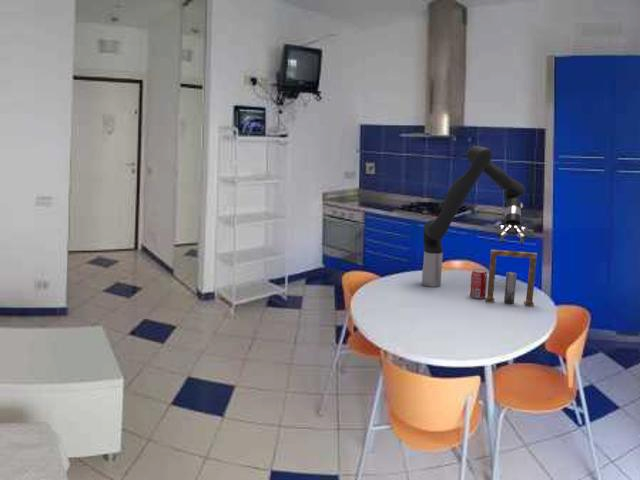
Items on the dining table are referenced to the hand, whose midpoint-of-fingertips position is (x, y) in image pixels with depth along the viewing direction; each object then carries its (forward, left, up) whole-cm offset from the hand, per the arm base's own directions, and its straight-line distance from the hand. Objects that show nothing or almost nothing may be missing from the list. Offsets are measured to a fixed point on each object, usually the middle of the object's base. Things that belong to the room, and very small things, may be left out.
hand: (511, 243), depth 257 cm
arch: (0, -20, -24) cm, 31 cm away
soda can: (-14, -16, -24) cm, 32 cm away
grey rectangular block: (0, -20, -24) cm, 31 cm away
